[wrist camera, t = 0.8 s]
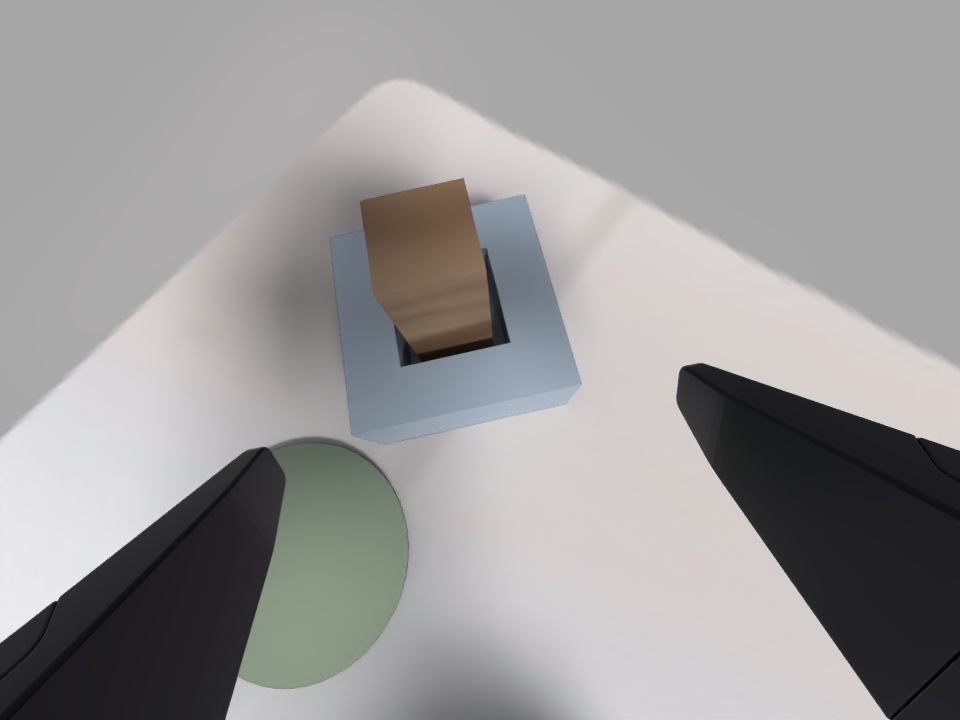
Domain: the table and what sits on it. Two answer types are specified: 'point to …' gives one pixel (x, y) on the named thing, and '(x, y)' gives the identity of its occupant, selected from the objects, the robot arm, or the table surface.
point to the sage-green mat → (327, 568)
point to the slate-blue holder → (464, 377)
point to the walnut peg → (429, 268)
